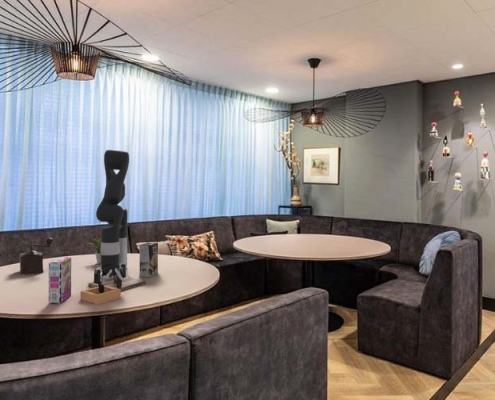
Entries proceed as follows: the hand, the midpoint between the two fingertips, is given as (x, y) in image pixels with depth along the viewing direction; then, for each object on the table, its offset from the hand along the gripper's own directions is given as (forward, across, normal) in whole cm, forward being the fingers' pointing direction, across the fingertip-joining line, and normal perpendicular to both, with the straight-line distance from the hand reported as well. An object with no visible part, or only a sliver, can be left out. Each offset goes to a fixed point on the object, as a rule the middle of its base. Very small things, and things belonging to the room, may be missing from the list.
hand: (110, 290), depth 160 cm
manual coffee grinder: (+2, -5, -67) cm, 67 cm away
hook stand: (+2, -12, -11) cm, 17 cm away
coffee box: (+2, -34, -14) cm, 37 cm away
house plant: (+2, -39, -58) cm, 70 cm away
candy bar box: (+2, +15, -12) cm, 19 cm away
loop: (+2, +5, 0) cm, 5 cm away
